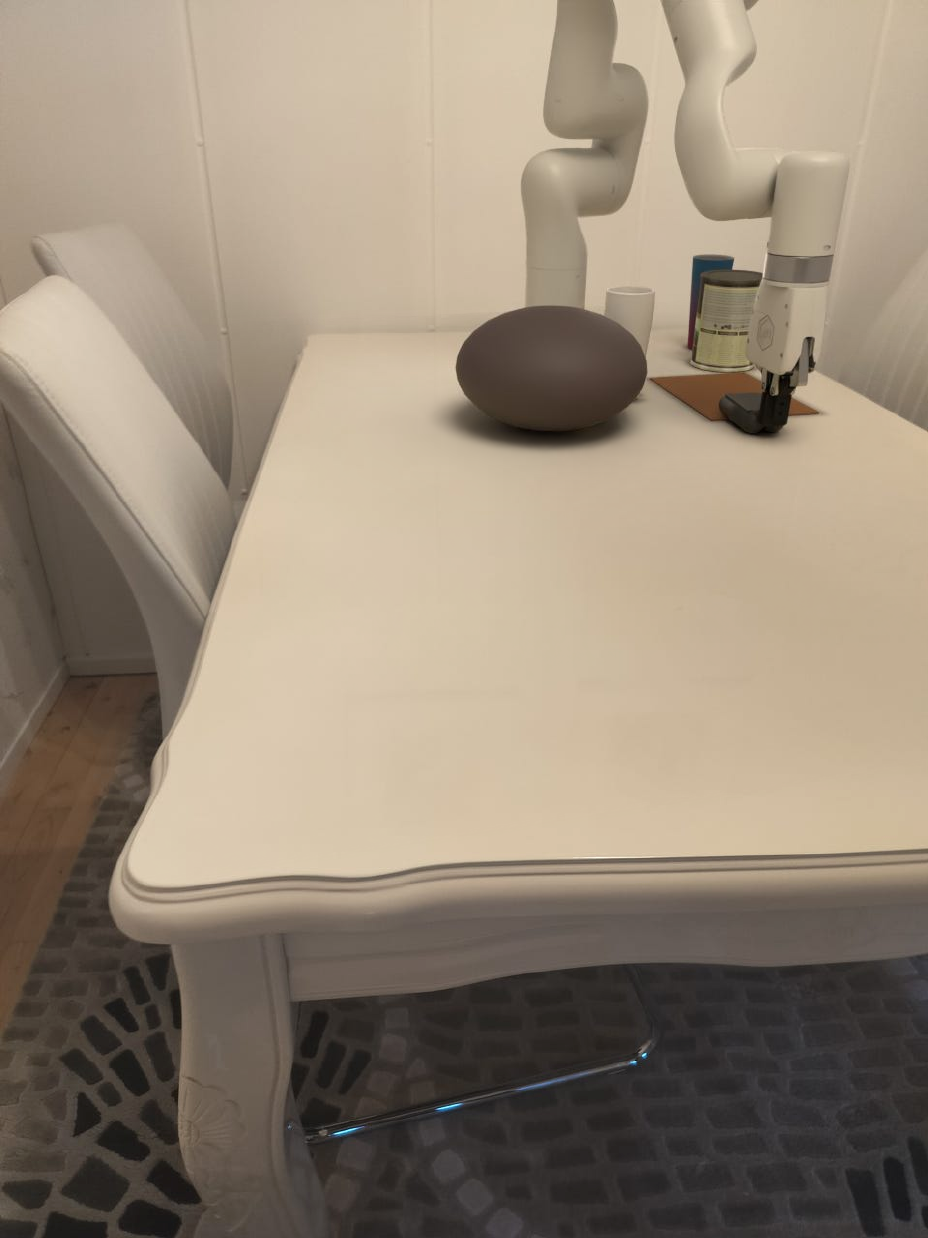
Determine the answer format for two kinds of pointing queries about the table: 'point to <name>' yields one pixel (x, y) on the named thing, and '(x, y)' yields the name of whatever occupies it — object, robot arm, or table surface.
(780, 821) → the table surface
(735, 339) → the coffee can
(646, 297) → the drinking glass
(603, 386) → the flattened ellipsoid
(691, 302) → the cup
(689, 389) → the mouse pad
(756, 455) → the table surface
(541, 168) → the robot arm
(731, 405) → the mouse
